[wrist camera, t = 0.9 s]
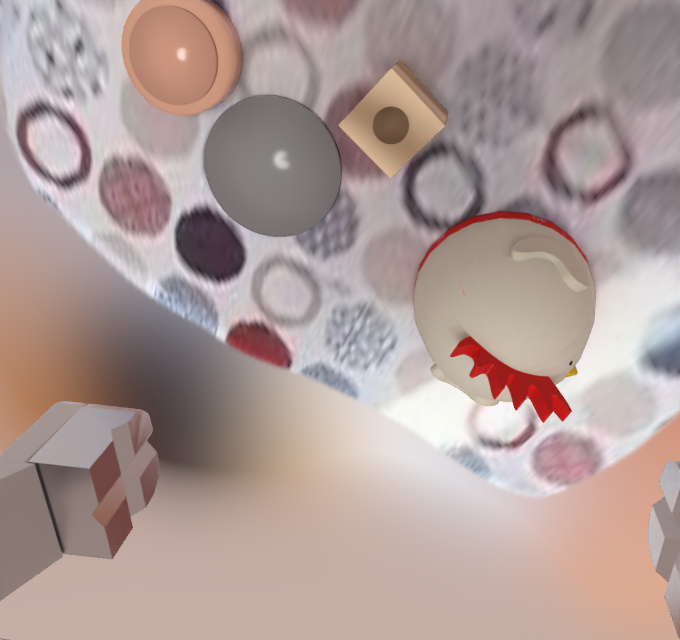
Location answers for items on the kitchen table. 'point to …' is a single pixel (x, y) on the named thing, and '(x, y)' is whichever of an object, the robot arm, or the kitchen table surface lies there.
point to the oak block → (395, 119)
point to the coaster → (272, 165)
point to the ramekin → (181, 54)
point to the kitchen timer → (506, 309)
